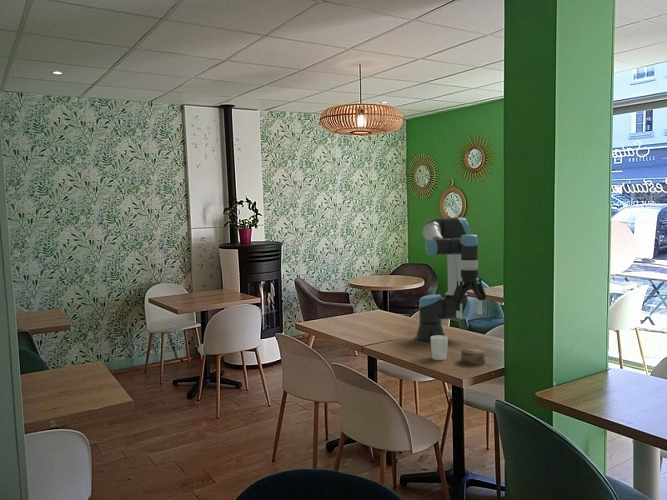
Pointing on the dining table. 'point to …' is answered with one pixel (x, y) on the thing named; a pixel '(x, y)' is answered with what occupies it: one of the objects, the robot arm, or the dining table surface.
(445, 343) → the white cup
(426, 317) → the robot arm
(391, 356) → the dining table surface
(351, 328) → the dining table surface
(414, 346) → the dining table surface
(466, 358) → the walnut lid
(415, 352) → the dining table surface
